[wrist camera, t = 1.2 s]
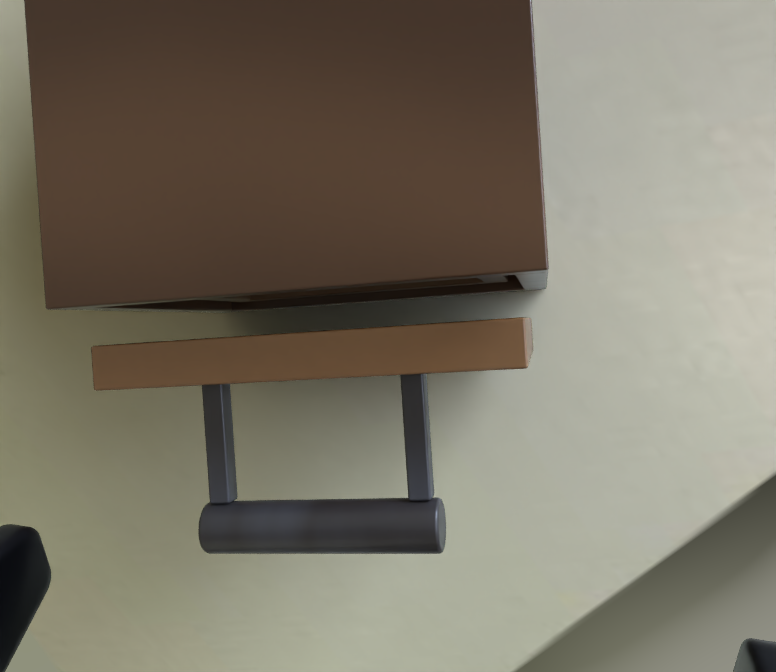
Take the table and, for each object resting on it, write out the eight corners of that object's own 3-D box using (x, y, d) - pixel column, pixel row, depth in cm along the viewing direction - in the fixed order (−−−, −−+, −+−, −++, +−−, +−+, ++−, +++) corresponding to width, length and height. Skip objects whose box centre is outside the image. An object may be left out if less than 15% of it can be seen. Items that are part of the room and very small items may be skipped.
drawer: (542, 485, 26) (540, 568, 17) (239, 491, 28) (105, 567, 20) (510, -6, 26) (493, -169, 17) (208, 42, 28) (60, -80, 19)
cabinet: (546, 289, 26) (548, 270, 16) (222, 313, 29) (44, 309, 19) (523, -90, 26) (509, -353, 16) (199, -31, 29) (7, -225, 19)
